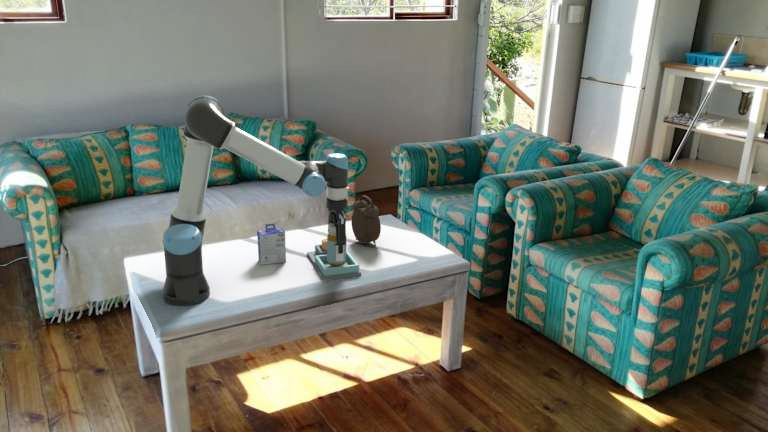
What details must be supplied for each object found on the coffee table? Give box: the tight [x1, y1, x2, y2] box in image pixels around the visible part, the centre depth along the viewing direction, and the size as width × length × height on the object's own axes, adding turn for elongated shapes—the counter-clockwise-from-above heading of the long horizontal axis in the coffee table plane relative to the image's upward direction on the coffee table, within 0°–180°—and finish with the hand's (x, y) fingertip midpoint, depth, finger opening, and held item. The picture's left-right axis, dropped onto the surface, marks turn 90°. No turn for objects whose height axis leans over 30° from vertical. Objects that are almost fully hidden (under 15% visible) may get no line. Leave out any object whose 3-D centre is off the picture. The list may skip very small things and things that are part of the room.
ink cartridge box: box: [256, 223, 287, 266], centre depth 249 cm, size 10×6×14 cm, turn 112°
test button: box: [321, 238, 327, 251], centre depth 254 cm, size 5×5×5 cm
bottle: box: [326, 223, 347, 266], centre depth 242 cm, size 7×7×15 cm
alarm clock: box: [351, 194, 382, 247], centre depth 268 cm, size 14×7×20 cm, turn 32°
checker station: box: [306, 243, 362, 281], centre depth 249 cm, size 14×24×4 cm, turn 21°
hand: (336, 256), depth 244 cm, fingers closed on bottle, 7 cm apart
